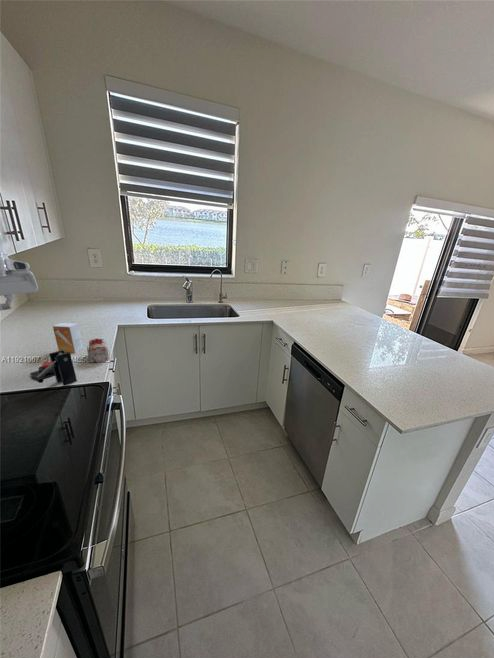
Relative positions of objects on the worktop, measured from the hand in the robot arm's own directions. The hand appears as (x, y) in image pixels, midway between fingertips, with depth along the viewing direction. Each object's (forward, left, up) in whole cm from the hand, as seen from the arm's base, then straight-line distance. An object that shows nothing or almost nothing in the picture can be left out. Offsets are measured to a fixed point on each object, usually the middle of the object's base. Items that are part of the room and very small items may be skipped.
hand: (5, 309), depth 93 cm
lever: (+5, -7, -21) cm, 23 cm away
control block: (+10, +6, -29) cm, 31 cm away
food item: (+30, +6, -29) cm, 42 cm away
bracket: (+9, -7, -29) cm, 31 cm away
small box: (+30, +28, -29) cm, 50 cm away
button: (+10, +6, -25) cm, 28 cm away
